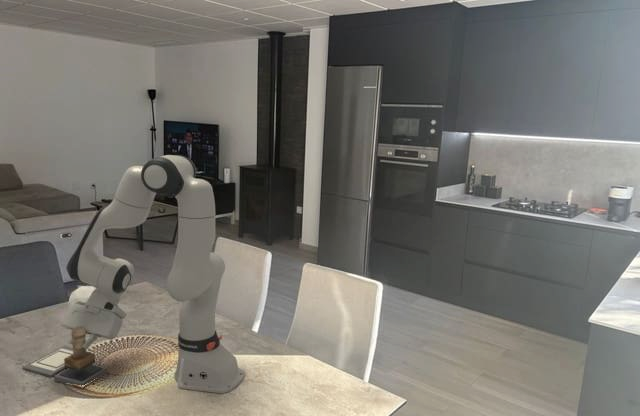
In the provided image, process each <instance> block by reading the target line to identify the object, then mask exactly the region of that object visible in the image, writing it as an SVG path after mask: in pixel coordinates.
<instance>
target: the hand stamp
mask: <svg viewBox="0 0 640 416" xmlns="http://www.w3.org/2000/svg"><path fill="white" fill-rule="evenodd" d="M71 331H72V333H71V332H70V336H71V335H72V342H73V346H72V348H73V354H72V355H70V356H68V357H66V358H65V359H64V365H65V367H66V368H70V369H73V370H77V371H81V370H83V369H84V368H86V367H88V366H89V365H91V364H93V365H94V363H95V362H96V356H95V353H93V352H91V353H89V352H90V351H87V349H84V348H82V347H81V345H82V343H83V341H84V342H86V341H87V340H86V335H87V334H86V330H85V329H84V328H83V327H76V328H74V329H73V330H71ZM86 351H87V352H86Z"/></svg>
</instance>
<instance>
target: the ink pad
mask: <svg viewBox="0 0 640 416" xmlns="http://www.w3.org/2000/svg"><path fill="white" fill-rule="evenodd" d="M106 374H108V368H107V367H104V366H101V365H97V364H94V363H93V364H91V365H89V366H88V367H86V368H84V369H83V370H81V371H77V370H73V369H70V368H67V369H65V370H63V371H62V372H60V373H58V374H56V375H54V376H53V378H54V381H55V382H57V383H60V384H65V385H67V384H66V383H70V384H77V385H81V386H82V385H85V384H87V383H89V382H91V381H93V380H94V379H96V378H98V377H100V376H101V377H103V376H104V375H106ZM102 375H103V376H102ZM101 377H100V378H101ZM98 379H99V378H98Z"/></svg>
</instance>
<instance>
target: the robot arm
mask: <svg viewBox="0 0 640 416" xmlns="http://www.w3.org/2000/svg"><path fill="white" fill-rule="evenodd" d="M196 176H197V168H196V165H195V163H194V162H193V160H192V159H190V158H189V157H187V156H185V155H182V154H181V155H180V154H174V155H173V154H166V155H160V156H158V157H154V158H151V159H149V160H148V161H147V162H146V163H145V164H144V165H143V166H142V165H133V166H131V167H129V168H127V169H126V170H125V172H124V174H123V176H122V177H121V179H120V182H119V184H118V185H117V189H116V191H115V194H114V197H113V199H112V201H111V202H110V203H109V204H108V206H102V207H101V208H100V209H99V210H98V211H97V212H96V213H95V215H94V216H93V218H92V219H91V221H90V223H89V225H88V227H87V228H86V231H85V233H84V235H83V236H82V238H81V240H80V242H79V244H78V246H77V248H76V249H75V250H74V253H72V255H71V256H70V258H69V260H68V262H67V264H66V267H65V269H66V271H67V274H68V277H69V278H70V279H71V280H73V281H77V282H81V283H85V284H87V285H89V286H93V287H95V288H96V289H95V290H94V291H93V292H92V294H91V296H90V297H89V299H88V301H87V302H86V303H85V302H81V301H79V302H77V303H74V304H73V305H72V307H71V308H70V309H68V310H67V311H66V312H65V313H64V315H63V316H62V318H61V320H60V321H59V323H60V326H61V327H62V328H64V329H66V330H70V339H69V341H68V342H67V343H68V345H70V346H71V347H73V342H72V335H71V333H72V330H73V329H74V328H76V327H83V328H84V329H85V330H86V335H89V338H88V339H87V340H85V341H86V342H84V341H83V343H82V345H81V347H82V348H84V349H86V350H89V347H90V346H91V345H92V344H93V343H94V342H96V341H97V340H98V338H102V339H106V340H110V341H113V340H114V339H116V338H117V336H118V335H119V332H120V330H121V328H122V326H123V323H124V322H123V321H124V319H126V317H127V313H126V312H125V311H124V310H123V309H122V308H121V307H120V306H119V305H118V304H119V303H120V299H121V297H122V295H123V294H124V293H125V291H126V290H127V288H128V286H129V285H130V283H131V280H132V278H133V277H132V276H133V275H134V271H135V269H134V265H133V264H132V263H131V262H130V261H129V260H126V259H124V258H120V257H119V258H115V259H114V258H109V257H107V256H105V255H102V254H99V253H97V252H96V251H95V249H96V246H97V244H98V243H99V241H100V239H101V237H102V235H103V234H104V232H105V231H106V230H108V229H130V228H136V227H138V226H141V225H142V224H143V223H145V222H146V220H147V218H148V216H149V214H150V213H151V209H152V205H153V203H154V200H155V197H156V195H157V194H158V195H161V196H165V197H167V198H171V199H172V198H175V199H176V200H177V201H176V202H177V208H178V209H177V210H178V211H177V217H178V218H177V221H178V222H177V223H178V225H177V228H178V229H177V231H178V232H177V236H178V237H177V245H176V250H175V255H174V259H173V263H172V268H171V269H170V273H169V274H168V276H167V277H166V281H165V288H166V291H167V293H168V295H169V296H170V297H171V298H172V299H173V300H175V301H177V302H182V303H181V306H180V309H179V324H178V325H179V332H178V335H177V337H178V338H177V345H178V348H179V349H178V358H177V365H176V368H175V372H174V379H175V380H176V383H177V388H178V389H184V390H191V391H200V392H208V393H214V394H215V393H216V394H226V393H228V392H230V391H232V390H234V389H235V388H236V387H238V385H239V384H241V383H242V381H244V379H245V376H246V373H245V369H243V368H241V367H239V365H238V360H237V357H236V356H235V355H234V354H233V353H232V352H231V351H229V350H228V349H227V348H226V347H225V346H224V345H223V344H222V343H221V342H220V341H221V340H222V339H223V335H222V334H221V335H219V336H218V333H217V330H216V309H217V302H218V298H219V294H220V287H221V282H222V278H223V277H224V273H225V270H226V264H225V261H224V259H223V258H222V257H221V256H220V254H218V253H216V252H212V249H213V246H214V244H215V241H216V202H215V196H214V195H215V193H214V191H213V186H212V184H210V182H209V181H207V180H205V179H202V178H196Z"/></svg>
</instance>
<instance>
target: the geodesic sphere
mask: <svg viewBox="0 0 640 416" xmlns="http://www.w3.org/2000/svg"><path fill="white" fill-rule="evenodd" d="M76 286H77V288H76V289H75V290H73V291H72V292H71V293H70V297H69V300H68V302H67V309H68V310H69V309H70V308H71V307H72V305H73V304H74V303H77V302H79V301H81V302H85V303H86V302H87V301H88V299H89V297H90V296H91V294H92V292H93V291H94V290H95V289H96V288H97V287H96V286H93V285H90V284H87V285H82V284H81V285H80V284H78V285H76Z"/></svg>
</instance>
